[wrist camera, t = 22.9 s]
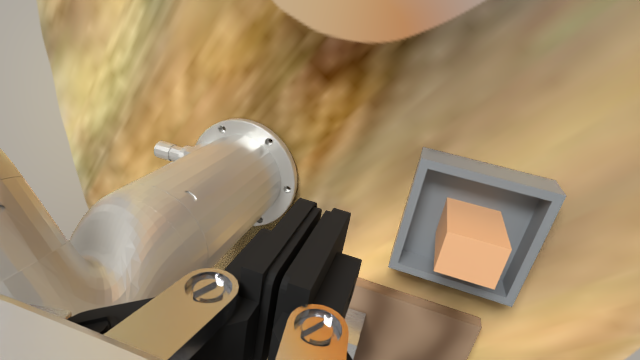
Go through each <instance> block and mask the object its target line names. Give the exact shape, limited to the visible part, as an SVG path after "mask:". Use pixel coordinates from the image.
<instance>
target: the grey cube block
mask: <svg viewBox="0 0 640 360" xmlns="http://www.w3.org/2000/svg"><path fill="white" fill-rule="evenodd" d="M365 316H366V314H365V313H362V312H359V311H356V310H354V309H351V308H348V311H347V314H346V317H345V321H346V323H347V325H348V330H349V338H348V347H347V352H348V353H349V355H350V356H351V358H352V359H353V358H354V355H355V351H356V348H357V344H358V341H359V337H360V334H361V330H362V326H363V323H364V319H365Z"/></svg>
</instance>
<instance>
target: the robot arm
mask: <svg viewBox="0 0 640 360" xmlns="http://www.w3.org/2000/svg"><path fill="white" fill-rule="evenodd" d="M270 139H272V141H273V142H271V140H270ZM154 154H155V156H156V157H158V158H161V159H165V160H168V161H173V162H171V163H169V164H167V165H165V166H163V167H161V168H159V169H157V170H155V171H153V172H151V173H149V174H147V175H145V176H143V177H141V178H139V179H137V180H135V181H133V182H131V183H129V184H127V185H125V186H123V187H121V188H119V189H117V190H115V191H113V192H112V193H110V194H108V195H106V196H105V197H103V198H102V199H100V200H99V201H98V202H97V203H96V204H94V205H93V206H92V207H91V208H90V209H89V210H88V212H87V213H86V214H85V215H84V217H83V218H82V219H81V221H80V222H79V224H78V225H77V227H76V229H75V230H74V232H73V234H72V236H71V238H70V240H69V241H68V240H67V239H66V237H65V236H64V235H63V233H62V232H61V230H60V229H59V227H58V226H57V225H56V223H55V222H54V220H53V219H52V217H51V216H50V215H49V213H48V212H47V210H46V209H45V207H44V206H43V205H42V203H41V202H40V200H39V199H38V198H37V196H36V195H35V193H34V192H33V190H32V189H31V187H30V186H29V185H28V183H27V182H26V181H25V179H24V178H23V176H22V175H21V174H20V172H19V171H18V170H17V168H16V167H15V166H14V164H13V163H12V162H11V160H10V159H9V158H8V157H7V156H6V154H5V153H4V152H3V151H2V150H1V149H0V360H267V358H268V360H353V359H352V358H351V356H350V355H349V353H348V352H347V347H348V338H349V330H348V325H347V323H346V321H345V317H346V314H347V311H348V308H349V305H350V302H351V299H352V295H353V292H354V289H355V285H356V281H357V278H358V274H359V270H360V266H361V262H362V260H361V259H358V258H355V257H352V256H349V255H345V254H342V251H343V246H344V242H345V238H346V234H347V229H348V225H349V221H350V216H351V213H349V212H346V211H342V210H339V209H336V208H333V210H332V211H331V212H330V211H327V210H326V211H325V213H324V214H323V216H322V217H321V212H322V209H320V208H317V203H316V202H312V201H309V200H306V199H302V198H299V199H298V200H297V202H296V203H295V204H294V205H293V206H292V207H291V209H290V210H289V211H288V212H287V213H286V215H285V216H284V217H283V218H282V219H281V220H280V222H279V223H278V224H277V225H276V226H275V228H274V229H273V230H272V231H271V230H268V229H265V228H264V229H261V230H260V231H259V232H258V233H257V234H256V235H255V237H254V238H253V239H252V240H251V241H250V242H249V243H248V244H247V245H246V247H245V248H244V249H243V250H242V251H241V252H240V253H239V254H238V255H237V256H236V258H235V259H234V260H233V261H232V262H231V263H230V264H229V265H228V266H227V268H226V269H225V270H221V269H217V268H213V267H214V265H215V264H216V263H217V262H218V261H219V260H220V259H221V258H222V257H223V256H224V255H225V254H226V253H227V252H228V251H229V250H230V249H231V248H232V247H233V246H234V245H235V244H236V243H237V242H238V241H239V239H240V238H241V237H242V236H243V235H244V234H245V233H246V232H247V231H248V230H249V229H250V228H251V227H252V226H261V225H266V224H269V223H271V222H273V221H275V220H276V219H278V218H280V217H281V216H282V215H283V214H284V213H285V212H286V210H287V209H288V208H289V206H290V205H291V204H292V201H293V199H294V197H295V194H296V189H297V171H296V166H295V163H294V160H293V158H292V155H291V153H290V152H289V150H288V148H287V146H286V145H285V144H284V142H283V141H282V140H281V139H280V138H279V137H278V136H277V135H276V134H275V133H274V132H273V131H271V130H270V129H269V128H267V127H265V126H264V125H262V124H260V123H257V122H255V121H252V120H248V119H241V118H236V119H228V120H224V121H221V122H219V123H217V124H214V125H212V126H211V127H210V128H208V129H207V130H205V132H204V133H203V134H202V135H201V136H200V138H199V139H198V141H197V143H196V145H195V146H194V147H192V146H188V145H187V146H184V147H179V146H177V145H175V144H171V143H168V142H164V141H159V142H158V143H157V144H156V146H155V148H154ZM288 186H289V187H290V188H289V187H288ZM320 218H321V219H320Z"/></svg>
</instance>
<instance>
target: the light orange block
mask: <svg viewBox="0 0 640 360" xmlns="http://www.w3.org/2000/svg"><path fill="white" fill-rule="evenodd" d="M511 251H512V248H511V245H510V241H509V238H508V234H507V231H506V228H505V224H504V221H503V217H502V214H501V211H497V210H494V209H490V208H486V207H482V206H478V205H475V204H471V203H467V202H463V201H459V200H456V199H452V198H448V197H447V199H446V202H445V205H444V208H443V211H442V214H441V218H440V221H439V224H438V227H437V230H436V236H435V255H434V271H435V272H438V273H441V274H445V275H448V276H451V277H455V278H458V279H461V280H464V281H468V282H471V283H474V284H478V285H481V286H484V287H487V288H491V289H494V290H495V287H496V285H497V283H498V280H499V278H500V276H501V274H502V271H503V269H504V267H505V264H506V262H507V260H508V258H509V255H510V253H511Z"/></svg>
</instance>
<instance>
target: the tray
mask: <svg viewBox="0 0 640 360" xmlns="http://www.w3.org/2000/svg"><path fill="white" fill-rule="evenodd" d="M447 197H448V198H452V199H456V200H459V201H463V202H467V203H471V204H475V205H478V206H482V207H486V208H490V209H494V210H497V211H501V214H502V217H503V221H504V224H505V228H506V231H507V234H508V238H509V241H510V245H511V248H512V251H511V253H510V255H509V258H508V260H507V262H506V264H505V267H504V269H503V271H502V274H501V276H500V278H499V280H498V283H497V285H496V287H495V290H494V289H491V288H487V287H484V286H481V285H478V284H474V283H471V282H468V281H464V280H461V279H458V278H455V277H451V276H448V275H445V274H441V273H438V272H435V271H434V255H435V236H436V230H437V227H438V224H439V221H440V218H441V214H442V211H443V208H444V205H445V202H446V199H447ZM565 198H566V195H565V193H564V192H563V190H562V189H561V187H560V186H559V185H558V183H557V182H556V180H552V179H548V178H544V177H540V176H536V175H532V174H528V173H524V172H520V171H516V170H512V169H508V168H504V167H500V166H496V165H492V164H489V163H485V162H481V161H477V160H473V159H469V158H465V157H461V156H457V155H453V154H449V153H445V152H441V151H437V150H433V149H429V148H425V147H423V149H422V152H421V156H420V159H419V162H418V166H417V169H416V172H415V176H414V179H413V183H412V186H411V189H410V193H409V196H408V199H407V203H406V206H405V209H404V213H403V216H402V219H401V223H400V226H399V229H398V233H397V236H396V239H395V243H394V246H393V249H392V254H391V258H390V262H389V266H388V267H389V268H392V269H395V270H398V271H402V272H405V273H408V274H411V275H414V276H417V277H420V278H423V279H426V280H430V281H433V282H436V283H439V284H442V285H445V286H448V287H451V288H455V289H458V290H461V291H464V292H467V293H470V294H473V295H476V296H479V297H483V298H486V299H489V300H492V301H495V302H498V303H501V304H504V305H508V306H511V307H512V306H513V304H514V302H515V300H516V298H517V296H518V294H519V291H520V289H521V287H522V285H523V283H524V281H525V279H526V277H527V275H528V273H529V271H530V269H531V267H532V265H533V263H534V261H535V259H536V257H537V255H538V253H539V251H540V249H541V247H542V244H543V242H544V240H545V238H546V236H547V234H548V232H549V230H550V228H551V226H552V224H553V222H554V220H555V218H556V216H557V214H558V212H559V210H560V208H561V206H562V204H563V202H564V200H565Z"/></svg>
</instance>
